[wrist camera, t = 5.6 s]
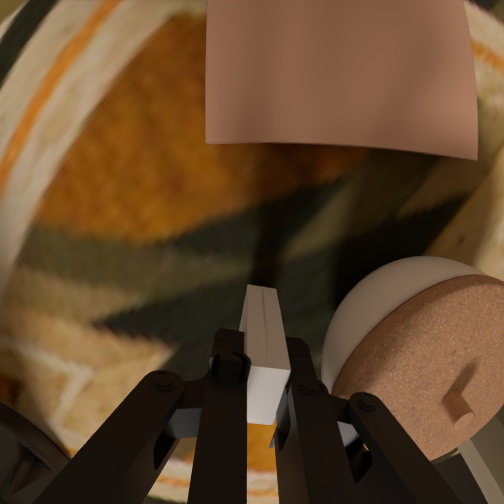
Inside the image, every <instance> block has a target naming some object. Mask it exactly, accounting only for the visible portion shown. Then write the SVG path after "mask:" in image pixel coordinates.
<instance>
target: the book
mask: <svg viewBox="0 0 504 504" xmlns="http://www.w3.org/2000/svg"><path fill="white" fill-rule="evenodd" d="M206 143H209V144H229V143H288V144H318V145H337V146H353V147H366V148H377V149H388V150H397V151H406V152H415V153H423V154H430V155H437V156H444V157H451V158H457V159H467V160H476V161H478V111H477V92H476V80H475V69H474V61H473V53H472V46H471V39H470V33H469V27H468V22H467V17H466V12H465V7H464V3H463V0H208V2H207V33H206Z"/></svg>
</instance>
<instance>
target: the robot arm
mask: <svg viewBox="0 0 504 504" xmlns="http://www.w3.org/2000/svg"><path fill="white" fill-rule="evenodd" d="M275 418H276V419H277V427H276V429H275V432H274V435H273V438H272V441H271V443H270V448H273V445H274V443H275V454H276V467H277V480H278V493H279V504H463V503H462V502H461V500H460V499H459V498H458V497H457V495H456V494H455V493H454V491H453V490H452V489H451V488H450V486H449V485H448V484H447V483H446V481H445V480H444V479H443V477H442V476H441V475H440V474H439V472H438V471H437V470H436V469H435V467H434V466H433V465H432V463H431V462H430V461H429V460H428V458H427V457H426V456H425V455H424V453H423V452H422V451H421V450H420V448H419V447H418V446H417V444H416V443H415V442H414V441H413V439H412V438H411V437H410V436H409V434H408V433H407V432H406V431H405V429H404V428H403V427H402V426H401V424H400V423H399V422H398V421H397V419H396V418H395V417H394V416H393V414H392V413H391V412H390V411H389V409H388V408H387V407H386V405H385V404H384V403H383V402H382V401H381V400H380V399H379V398H378V397H377V396H375V395H373V394H371V393H367V392H357V393H354V394H352V395H351V396H350V398H349V400H347V399H344V398H340V397H336V396H333V395H331V394H329V392H328V389H327V387H326V386H325V384H323V383H322V382H321V381H319V380H317V376H316V372H315V369H314V365H313V362H312V358H311V355H310V351H309V347H308V345H307V344H306V343H305V342H304V341H303V340H302V339H301V338H292V337H285V334H284V329H283V324H282V318H281V313H280V307H279V302H278V297H277V291H276V289H273V288H267V287H261V286H254V285H248V286H247V291H246V297H245V302H244V307H243V313H242V318H241V323H240V328H239V331H236V330H229V329H223V328H221V329H220V330H219V331H218V332H216V333H215V337H214V343H213V349H212V354H211V356H210V361H209V368H208V373H207V374H206V375H205V376H204V377H203V378H201V379H198V380H195V381H183V379H182V378H181V377H180V376H179V375H177V374H175V373H173V372H171V371H166V370H156V371H153V372H150V373H148V374H147V375H146V376H145V377H144V378H143V379H142V380H141V381H140V382H139V383H138V384H137V386H136V387H135V388H134V389H133V390H132V391H131V392H130V394H129V395H128V396H127V397H126V398H125V399H124V400H123V401H122V403H121V404H120V405H119V406H118V407H117V408H116V409H115V410H114V412H113V413H112V414H111V415H110V416H109V417H108V418H107V420H106V421H105V422H104V423H103V424H102V425H101V426H100V427H99V429H98V430H97V431H96V432H95V433H94V434H93V435H92V436H91V438H90V439H89V440H88V441H87V442H86V443H85V444H84V445H83V447H82V448H81V449H80V450H79V451H78V452H77V453H76V455H75V456H74V457H73V458H72V459H71V460H70V461H69V460H68V459H67V457H66V456H65V455H64V454H63V453H62V452H61V451H60V450H59V449H58V448H57V447H56V446H55V445H54V444H53V443H52V442H51V441H50V440H49V439H48V438H47V437H46V436H45V435H44V434H42V433H41V432H40V431H39V430H38V429H36V428H35V427H34V426H33V425H31V424H30V423H29V422H27V421H26V420H25V419H23V418H22V417H21V416H19V415H18V414H16V413H15V412H13V411H12V410H10V409H8V408H7V407H5V406H3V405H2V404H0V504H142V502H143V501H144V499H145V498H146V496H147V494H148V493H149V491H150V489H151V488H152V486H153V484H154V483H155V481H156V479H157V478H158V476H159V475H160V473H161V471H162V470H163V468H164V466H165V465H166V463H167V461H168V460H169V458H170V456H171V454H172V453H173V451H174V449H175V448H176V446H177V444H178V443H179V441H180V438H188V437H197V442H196V448H195V455H194V461H193V468H192V474H191V481H190V488H189V494H188V501H187V504H247V423H256V424H266V425H273V424H274V421H275ZM364 444H365V446H366V447H367V449H368V450H367V449H366V448H365V446H364Z"/></svg>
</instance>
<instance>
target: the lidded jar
mask: <svg viewBox="0 0 504 504" xmlns="http://www.w3.org/2000/svg"><path fill="white" fill-rule="evenodd" d="M321 374H322V383H323V384H325V386H326V387H327V389H328V392H329V394H331V395H333V396H336V397H340V398H344V399H347V400H349V398H350V396H351V395H352V394H354V393H357V392H367V393H371V394H373V395H375V396H377V397H378V398H379V399H380V400H381V401H382V402H383V403H384V404H385V405H386V407H387V408H388V409H389V411H390V412H391V413H392V414H393V416H394V417H395V418H396V419H397V421H398V422H399V423H400V424H401V426H402V427H403V428H404V429H405V431H406V432H407V433H408V434H409V436H410V437H411V438H412V439H413V441H414V442H415V443H416V444H417V446H418V447H419V448H420V450H421V451H422V452H423V453H424V455H425V456H426V457H427V458H428V460H429V461H431V460H433V459H435V458H438V457H440V456H442V455H444V454H446V453H448V452H450V451H451V450H453V449H454V448H456V447H458V446H459V445H461V444H462V443H464V442H465V441H466V440H468V439H469V438H470V437H472V436H473V435H474V434H476V433H477V432H478V431H479V430H480V429H481V428H482V427H483V426H485V425H486V424H487V423H488V422H489V421H490V420H491V418H492V417H493V416H494V415H495V414H496V413H497V412H498V411H499V410H500V408H501V407H502V406H503V404H504V282H503V281H501V280H499V279H496V278H493V277H491V276H488V275H487V274H485V273H484V272H482V271H480V270H478V269H476V268H474V267H472V266H469V265H467V264H464V263H461V262H458V261H455V260H452V259H449V258H443V257H436V256H415V257H408V258H404V259H400V260H396V261H393V262H391V263H388V264H386V265H384V266H382V267H380V268H378V269H377V270H375V271H373V272H372V273H370V274H369V275H367V276H366V277H365V278H364V279H362V280H361V281H360V282H359V283H358V284H357V285H356V286H355V287H354V288H353V289H352V290H351V291H350V292H349V293H348V294H347V295H346V297H345V298H344V299H343V301H342V302H341V303H340V305H339V306H338V308H337V310H336V312H335V313H334V315H333V317H332V319H331V322H330V324H329V327H328V330H327V333H326V336H325V340H324V344H323V351H322V367H321ZM364 446H365V444H364ZM365 448H366V449H367V447H366V446H365ZM367 450H368V449H367Z"/></svg>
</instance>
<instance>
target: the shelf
mask: <svg viewBox="0 0 504 504" xmlns="http://www.w3.org/2000/svg"><path fill="white" fill-rule="evenodd" d="M458 449H459V451H460V453H461V454H462V456H463V458H464V460H465V461H466V463H467V465H468V467H469V468H470V470H471V472H472V474H473V476H474V477H475V479H476V481H477V483H478V485H479V487H480V488H481V490H482V492H483V494H484V496H485V498H486V500H487V502H488V504H504V404H503V406H502V407H501V408H500V410H499V411H498V412H497V413H496V414H495V415H494V416H493V417H492V418H491V420H490V421H489V422H488V423H487V424H486V425H485V426H483V427H482V428H481V429H480V430H479V431H478V432H477V433H476V434H474V435H473V436H472V437H470V438H469V439H468V440H466V441H465V442H464V443H462V444H461V445H459V446H458Z"/></svg>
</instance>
